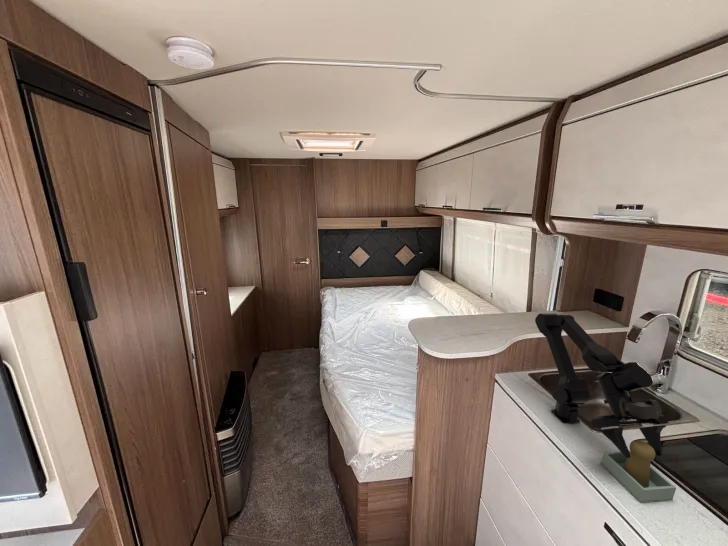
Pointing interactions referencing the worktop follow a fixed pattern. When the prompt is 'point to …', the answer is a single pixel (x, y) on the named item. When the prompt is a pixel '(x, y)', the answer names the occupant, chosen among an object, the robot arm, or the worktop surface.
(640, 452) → the cork
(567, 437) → the worktop surface
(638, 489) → the tray
